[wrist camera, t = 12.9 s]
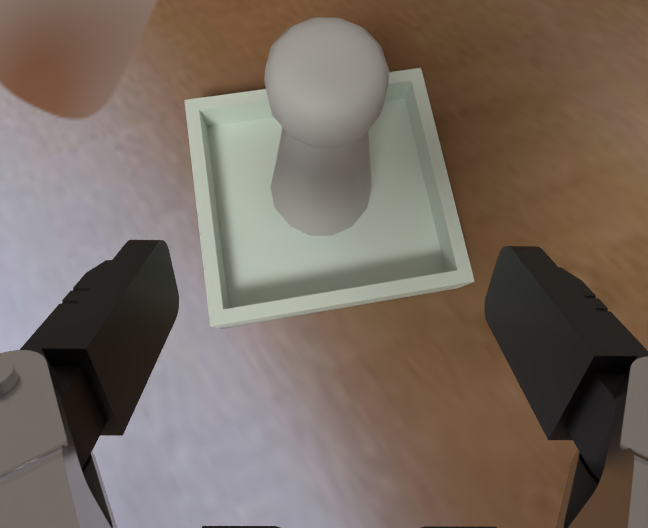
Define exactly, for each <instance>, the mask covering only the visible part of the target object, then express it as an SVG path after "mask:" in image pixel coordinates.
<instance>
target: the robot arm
mask: <svg viewBox="0 0 648 528" xmlns="http://www.w3.org/2000/svg"><path fill="white" fill-rule="evenodd" d="M595 296H596V295H595V294H594V293H593V292H592V291H591V290H590V289H589V288H588V287H587V286H586V285H585V284H584V283H583V281H582V280H580V279H578V278H577V277H575V276H574V275H572V274H570V273H569V272H567V271H566V270H564V269H562V268H558V267H557V265H556V264H555V263H554V262H553V261H552V260H551V259H550V258H549V256H548V255H547V254H546V253H545V252H544V251H543V250H542V249H541V248H540V247H526V246H505V247H503V248H502V250H501V251H500V253H499V255H498V259H497V262H496V265H495V268H494V272H493V275H492V278H491V281H490V285H489V288H488V291H487V294H486V298H485V317H486V320H487V323H488V325H489V327H490V329H491V331H492V333H493V335H494V336H495V338H496V340H497V342H498V344H499V346H500V348H501V350H502V352H503V354H504V356H505V358H506V360H507V362H508V363H509V365H510V367H511V369H512V371H513V373H514V375H515V377H516V379H517V381H518V383H519V385H520V387H521V388H522V390H523V392H524V394H525V396H526V398H527V400H528V402H529V404H530V406H531V408H532V410H533V412H534V414H535V415H536V417H537V419H538V421H539V423H540V425H541V427H542V429H543V431H544V433H545V435H546V437H547V439H548V440H573V441H574V443H575V444H576V446H577V448H578V450H577V452H576V453H575V455H574V456H573V459H572V462H571V466H570V471H569V475H568V479H567V483H566V487H565V492H564V496H563V500H562V504H561V508H560V513H559V517H558V521H557V525H556V528H648V351H647V350H646V349H645V348H644V347H643V346H642V345H641V343H640V342H639V341H638V340H637V339H636V338H635V337H634V336H633V335H632V334H631V333H630V332H629V331H628V330H627V329H626V327H625V326H624V325H623V324H622V323H621V322H620V321H619V320H618V319H617V318H616V317H615V316H614V315H613V314H612V312H608V311H607V309H608V308H607V307H606V306H605V305H604V304H603V303H602V302H601V301H600V300H599V299H596V298H595ZM62 301H63V303H62V304H59V305H58V306H57V307H56V308H55V310H54V311H53V312H52V313H51V314H50V315H49V316H48V318H47V319H46V320H45V321H44V322H43V323H42V325H41V326H40V327H39V328H38V329H37V330H36V332H35V333H34V334H33V335H32V336H31V337H30V338H29V340H28V341H27V342H26V343H25V344H24V345H23V347H22V348H21V349H20V350H16V351H9V352H4V353H0V528H117V526H116V523H115V519H114V516H113V513H112V510H111V507H110V503H109V500H108V497H107V494H106V491H105V487H104V484H103V481H102V478H101V474H100V471H99V468H98V465H97V462H96V458H95V456H94V454H93V452H92V450H93V448H94V446H95V444H96V442H97V440H98V438H99V436H100V435H123V434H124V431H125V429H126V427H127V425H128V423H129V421H130V418H131V416H132V414H133V412H134V410H135V407H136V405H137V403H138V401H139V399H140V396H141V394H142V392H143V390H144V388H145V385H146V383H147V381H148V379H149V377H150V374H151V372H152V370H153V368H154V366H155V364H156V361H157V359H158V357H159V355H160V353H161V350H162V348H163V346H164V344H165V342H166V339H167V337H168V335H169V333H170V331H171V328H172V326H173V324H174V322H175V320H176V317H177V314H178V308H179V294H178V289H177V285H176V280H175V276H174V271H173V267H172V262H171V258H170V253H169V249H168V246H167V244H166V243H165V241H163V240H129V241H128V242H127V243H126V244H125V245H124V246H123V247H122V249H121V250H120V251H119V252H118V254H117V255H116V256H115V257H114V259H113V260H106V261H104V262H103V263H101V264H100V265H98V266H96V267H95V268H93V269H92V270H90V271H88V272H87V273H86V274H85V275H84V276H83V277H82V278H81V279H80V281H79V282H78V283H77V284H76V285H75V286H74V288H73V291H70V292H69V293H68V295H67V296H66V297H65V298H64V299H63V300H62ZM202 528H280V527H276V526H202ZM422 528H497V527H422Z"/></svg>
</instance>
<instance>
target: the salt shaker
mask: <svg viewBox="0 0 648 528" xmlns="http://www.w3.org/2000/svg"><path fill="white" fill-rule="evenodd" d="M264 82H265V87H266V91H267V96H268V100H269V105H270V108H271V112H272V115H273V117H274V118H275V119H276V120H277V121H278V122H279V124H280V125H281V126H282V132H281V137H280V143H279V149H278V154H277V160H276V164H275V169H274V173H273V178H272V182H271V192H272V197H273V202H274V207H275V209H276V210H277V211H278V212H279V213H280V215H281V216H282V217H283V218H284V219H285V220H286V222H287V223H288V224H289V225H290V226H291V227H293V228H295V229H297V230H299V231H301V232H303V233H305V234H307V235H310V236H333V235H335V234H337V233H339V232H341V231H344V230H346V229H348V228H350V227H352V226H353V225H354V224H355V223H356V221H357V220H358V219H359V217H360V216H361V215H362V214H363V212H364V211H365V210H366V209H367V207H368V202H369V197H370V193H371V188H372V183H371V167H370V151H369V135H368V130H369V129H370V127H371V126H372V125H373V124H374V123H375V121H376V120H377V119H378V118H379V116H380V114H381V111H382V108H383V105H384V101H385V96H386V92H387V87H388V83H389V69H388V66H387V62H386V59H385V56H384V53H383V50H382V47H381V45H380V44H379V43H378V42H377V41H376V40H375V39H374V38H373V37H372V36H371V35H370V34H369V33H368V32H367V30H366V29H365V28H363V27H361V26H358V25H356V24H353V23H351V22H348V21H346V20H343V19H341V18H321V17H313V18H311V19H308V20H306V21H303V22H301V23H299V24H296V25H294V26H291V27H289V28H288V29H287V30H286V31H285V32H284V33H283V34H282V35H281V36H280V37H279V38H278V39H277V40H276V41H275V42H274V43H273V44H272V46H271V49H270V53H269V57H268V61H267V64H266V68H265V79H264Z"/></svg>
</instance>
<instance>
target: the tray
mask: <svg viewBox="0 0 648 528" xmlns="http://www.w3.org/2000/svg"><path fill="white" fill-rule="evenodd" d="M185 108H186V117H187V126H188V134H189V143H190V152H191V161H192V170H193V178H194V187H195V196H196V205H197V214H198V223H199V231H200V240H201V249H202V258H203V267H204V275H205V284H206V293H207V302H208V311H209V320H210V326H211V327H216V328H220V329H221V328H227V327H233V326H239V325H245V324H250V323H256V322H262V321H268V320H274V319H280V318H286V317H292V316H297V315H303V314H309V313H315V312H321V311H327V310H333V309H339V308H344V307H350V306H356V305H362V304H368V303H374V302H380V301H386V300H391V299H397V298H403V297H409V296H415V295H421V294H427V293H433V292H438V291H444V290H450V289H456V288H460V287H463V286H465V285H467V284H470V283H472V282H475V281H474V277H473V273H472V269H471V266H470V262H469V258H468V254H467V250H466V246H465V242H464V238H463V234H462V230H461V226H460V222H459V218H458V214H457V210H456V206H455V202H454V198H453V194H452V190H451V186H450V182H449V178H448V174H447V170H446V166H445V162H444V158H443V154H442V150H441V146H440V142H439V138H438V134H437V130H436V126H435V122H434V118H433V114H432V110H431V106H430V102H429V98H428V94H427V90H426V86H425V82H424V78H423V74H422V70H421V68H416V69H409V70H401V71H394V72H389V83H388V87H387V92H386V96H385V101H384V105H383V108H382V111H381V114H380V116H379V118H378V119H377V120H376V121H375V123H374V124H373V125H372V126H371V127H370V129H369V130H368V135H369V151H370V167H371V183H372V188H371V193H370V197H369V202H368V207H367V209H366V210H365V211H364V212H363V214H362V215H361V216H360V217H359V219H358V220H357V221H356V223H355V224H354V225H353V226H352V227H350V228H348V229H346V230H344V231H341V232H339V233H337V234H335V235H333V236H310V235H307V234H305V233H303V232H301V231H299V230H297V229H295V228H293V227H291V226H290V225H289V224H288V223H287V222H286V220H285V219H284V218H283V217H282V216H281V215H280V213H279V212H278V211H277V210H276V209H275V207H274V202H273V197H272V192H271V182H272V178H273V173H274V169H275V164H276V160H277V154H278V149H279V143H280V137H281V132H282V126H281V125H280V124H279V122H278V121H277V120H276V119H275V118H274V117H273V115H272V112H271V108H270V105H269V100H268V96H267V91H266V89H262V90H255V91H248V92H240V93H233V94H226V95H218V96H211V97H204V98H196V99H189V100H185Z"/></svg>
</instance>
